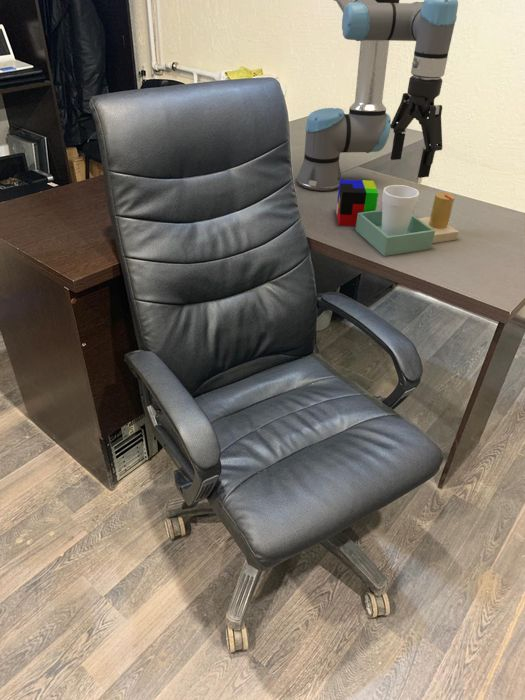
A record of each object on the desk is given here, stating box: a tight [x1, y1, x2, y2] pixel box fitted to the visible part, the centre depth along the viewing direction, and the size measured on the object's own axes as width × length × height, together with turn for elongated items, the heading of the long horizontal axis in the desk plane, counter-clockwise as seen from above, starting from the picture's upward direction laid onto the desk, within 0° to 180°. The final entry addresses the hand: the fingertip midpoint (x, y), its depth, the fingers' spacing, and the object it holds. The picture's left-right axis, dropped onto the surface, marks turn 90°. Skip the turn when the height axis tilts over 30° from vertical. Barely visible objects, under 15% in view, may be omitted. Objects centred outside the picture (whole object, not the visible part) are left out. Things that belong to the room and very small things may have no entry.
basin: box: [354, 209, 435, 257], centre depth 146 cm, size 17×15×5 cm
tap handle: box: [429, 191, 456, 228], centre depth 147 cm, size 5×5×9 cm
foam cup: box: [381, 184, 420, 236], centre depth 143 cm, size 10×9×13 cm
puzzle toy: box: [335, 179, 379, 227], centre depth 155 cm, size 10×10×10 cm
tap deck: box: [417, 216, 459, 244], centre depth 150 cm, size 11×10×3 cm
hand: (408, 167), depth 135 cm, fingers open, 13 cm apart
